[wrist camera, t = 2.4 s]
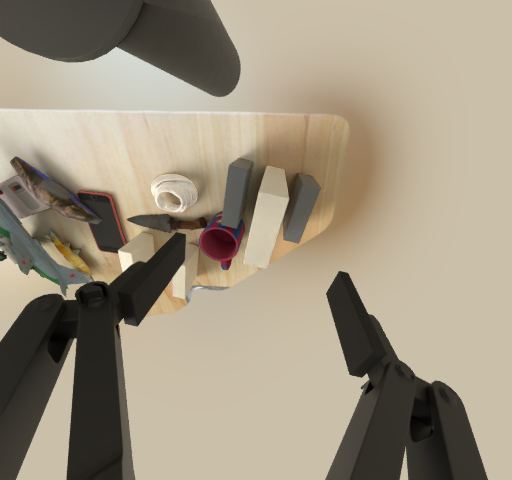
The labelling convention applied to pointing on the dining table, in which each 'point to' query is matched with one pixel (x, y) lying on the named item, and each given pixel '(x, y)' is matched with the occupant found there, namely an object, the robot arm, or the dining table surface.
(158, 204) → the white cloth wrap
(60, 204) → the decorative rock
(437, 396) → the robot arm
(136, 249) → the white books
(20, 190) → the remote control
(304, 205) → the pair of grey blocks
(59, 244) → the fish
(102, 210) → the smartphone
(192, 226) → the knife
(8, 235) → the airplane
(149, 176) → the dining table surface
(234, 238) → the cup
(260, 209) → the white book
